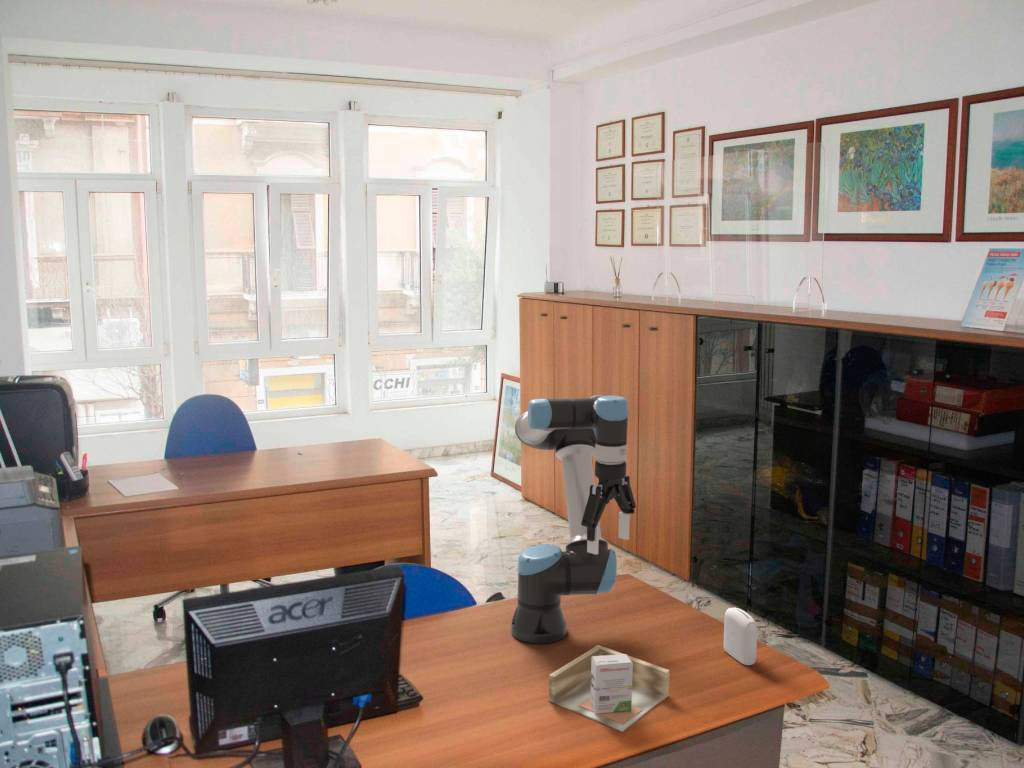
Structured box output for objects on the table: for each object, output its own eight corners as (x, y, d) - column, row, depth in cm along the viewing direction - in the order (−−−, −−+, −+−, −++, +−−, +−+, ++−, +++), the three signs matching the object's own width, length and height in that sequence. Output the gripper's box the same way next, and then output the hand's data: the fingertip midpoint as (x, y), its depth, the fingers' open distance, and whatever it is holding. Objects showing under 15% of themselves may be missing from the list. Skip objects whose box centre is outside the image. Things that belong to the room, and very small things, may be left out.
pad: (578, 706, 199) (578, 705, 199) (598, 692, 205) (598, 691, 205) (623, 724, 191) (623, 723, 191) (642, 710, 197) (642, 709, 197)
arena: (548, 700, 202) (549, 675, 200) (597, 669, 217) (598, 644, 216) (622, 732, 189) (623, 704, 188) (668, 695, 204) (669, 670, 203)
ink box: (625, 700, 201) (627, 652, 199) (631, 711, 196) (633, 662, 194) (589, 703, 199) (590, 654, 198) (595, 714, 195) (596, 665, 193)
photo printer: (720, 649, 228) (722, 604, 226) (734, 646, 229) (736, 602, 227) (743, 667, 218) (746, 620, 216) (758, 664, 220) (760, 618, 218)
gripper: (594, 473, 197) (592, 563, 201) (651, 453, 216) (648, 535, 220) (567, 468, 202) (565, 555, 205) (625, 449, 221) (623, 529, 224)
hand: (608, 545), depth 212 cm, fingers open, 13 cm apart
